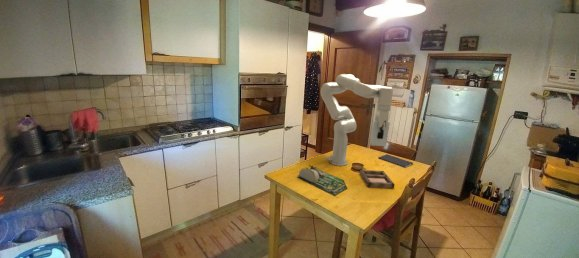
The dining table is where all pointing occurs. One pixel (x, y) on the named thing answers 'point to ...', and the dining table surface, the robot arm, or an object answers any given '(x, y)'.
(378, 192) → the dining table surface
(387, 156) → the notebook
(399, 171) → the dining table surface
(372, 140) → the acrylic panel
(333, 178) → the green board with half-disc
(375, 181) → the offcut top
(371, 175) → the brown wooden tray
